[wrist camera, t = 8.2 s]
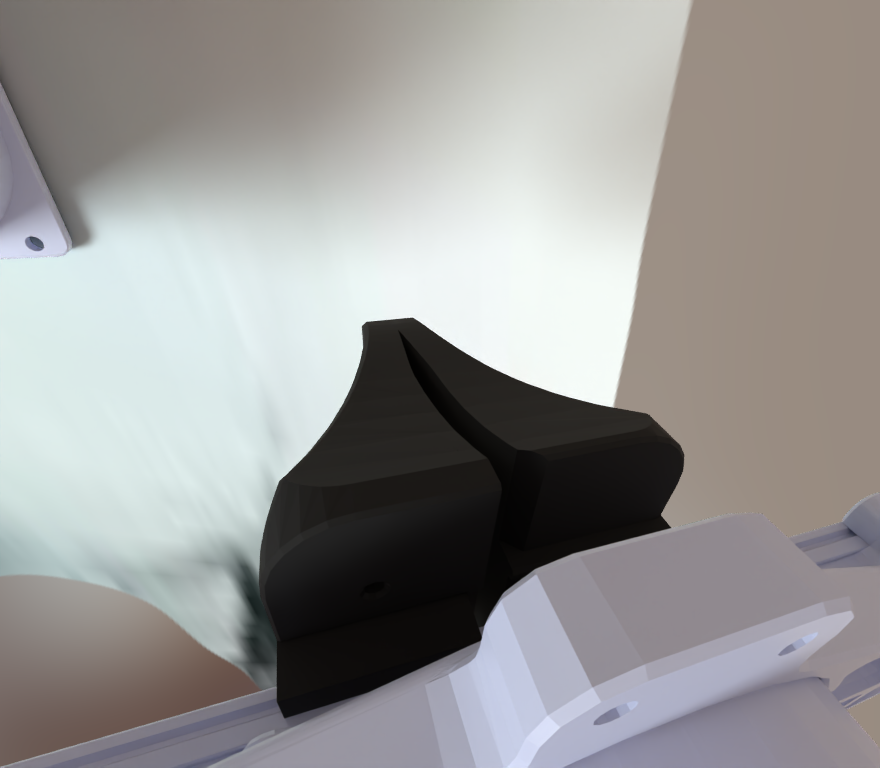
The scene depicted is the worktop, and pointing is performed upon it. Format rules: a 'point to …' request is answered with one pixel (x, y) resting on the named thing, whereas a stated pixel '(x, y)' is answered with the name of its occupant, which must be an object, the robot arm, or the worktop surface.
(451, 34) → the worktop surface
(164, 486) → the worktop surface
